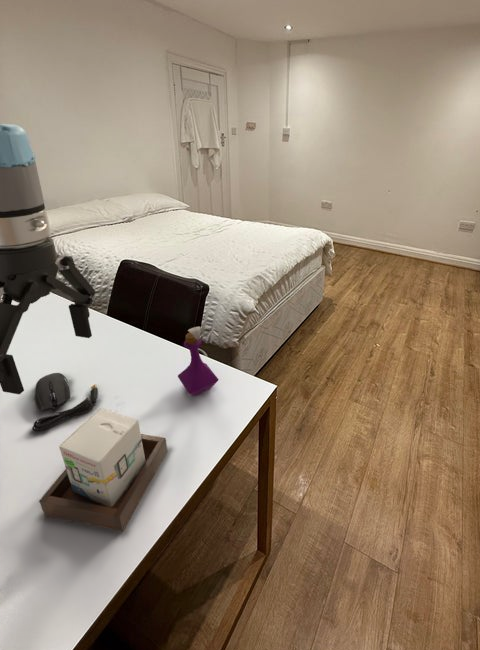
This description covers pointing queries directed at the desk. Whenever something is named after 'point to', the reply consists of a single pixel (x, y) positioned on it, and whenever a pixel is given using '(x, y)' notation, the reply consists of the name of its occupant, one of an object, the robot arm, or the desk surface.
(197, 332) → the perfume bottle
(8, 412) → the desk surface
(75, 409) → the computer mouse
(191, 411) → the desk surface
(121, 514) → the wooden tray
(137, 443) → the ink box
